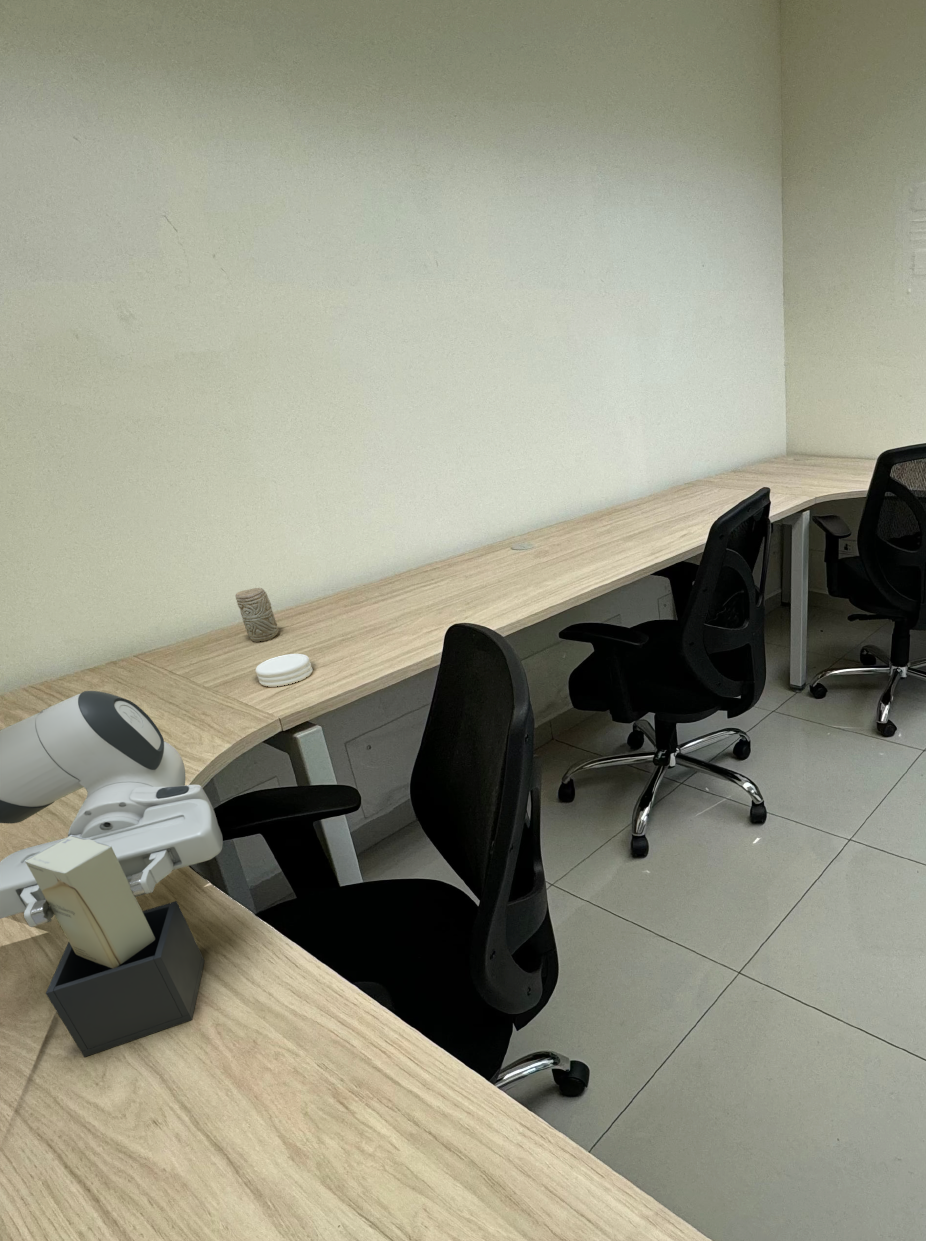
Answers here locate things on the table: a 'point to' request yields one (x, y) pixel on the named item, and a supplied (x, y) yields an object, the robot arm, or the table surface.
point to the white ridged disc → (284, 670)
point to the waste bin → (130, 987)
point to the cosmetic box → (91, 900)
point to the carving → (257, 614)
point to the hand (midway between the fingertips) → (89, 904)
